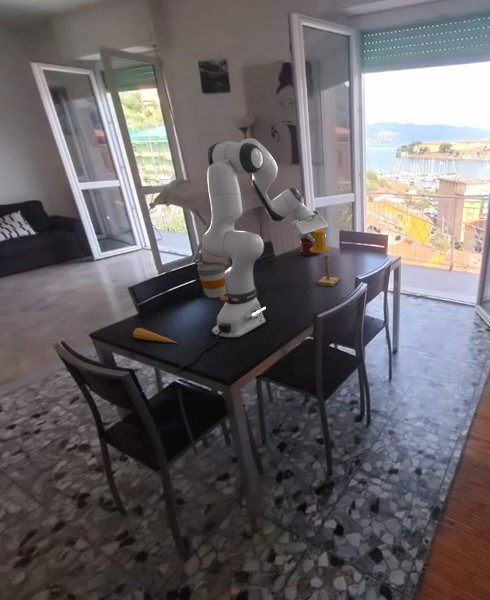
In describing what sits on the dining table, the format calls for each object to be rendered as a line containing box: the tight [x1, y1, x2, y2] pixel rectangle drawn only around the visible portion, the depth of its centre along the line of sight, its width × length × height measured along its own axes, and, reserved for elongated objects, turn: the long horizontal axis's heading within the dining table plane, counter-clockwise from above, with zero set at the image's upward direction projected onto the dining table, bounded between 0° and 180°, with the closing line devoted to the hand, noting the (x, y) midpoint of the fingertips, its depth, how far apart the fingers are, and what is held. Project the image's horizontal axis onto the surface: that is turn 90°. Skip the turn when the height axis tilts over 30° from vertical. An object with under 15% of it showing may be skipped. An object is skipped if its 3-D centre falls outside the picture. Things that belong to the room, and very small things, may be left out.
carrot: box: [132, 327, 178, 344], centre depth 139 cm, size 20×4×4 cm, turn 74°
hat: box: [310, 229, 331, 254], centre depth 179 cm, size 10×10×10 cm
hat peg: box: [316, 253, 340, 287], centre depth 189 cm, size 9×9×16 cm
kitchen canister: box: [299, 235, 321, 257], centre depth 237 cm, size 13×13×18 cm
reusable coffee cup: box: [197, 261, 227, 299], centre depth 177 cm, size 13×13×15 cm
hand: (320, 239), depth 179 cm, fingers closed on hat, 6 cm apart
